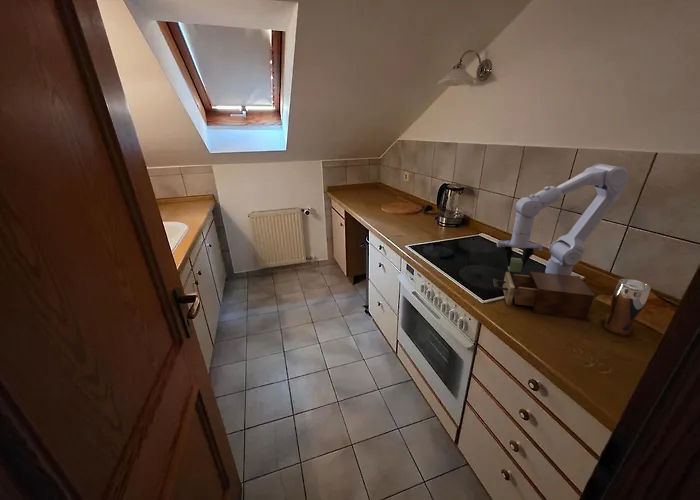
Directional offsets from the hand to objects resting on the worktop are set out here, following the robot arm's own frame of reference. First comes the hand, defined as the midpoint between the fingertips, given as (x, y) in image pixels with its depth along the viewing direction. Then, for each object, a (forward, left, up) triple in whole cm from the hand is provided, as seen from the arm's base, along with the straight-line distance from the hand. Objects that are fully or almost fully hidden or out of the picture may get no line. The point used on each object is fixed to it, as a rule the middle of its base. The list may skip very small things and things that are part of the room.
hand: (514, 265), depth 112 cm
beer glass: (+22, +25, -7) cm, 34 cm away
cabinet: (+13, +11, -7) cm, 18 cm away
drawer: (+13, +1, -6) cm, 14 cm away
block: (0, 0, -2) cm, 2 cm away
